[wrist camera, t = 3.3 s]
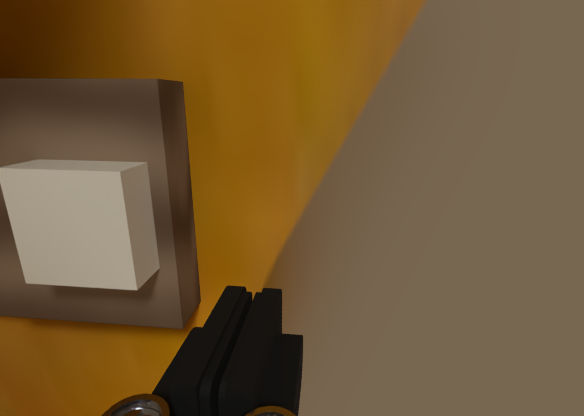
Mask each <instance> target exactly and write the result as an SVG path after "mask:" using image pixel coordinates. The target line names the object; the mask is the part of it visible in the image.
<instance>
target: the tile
mask: <svg viewBox="0 0 584 416" xmlns="http://www.w3.org/2000/svg"><path fill="white" fill-rule="evenodd" d="M0 184H1V188H2V192H3V196H4V200H5V204H6V208H7V212H8V215H9V219H10V223H11V227H12V231H13V235H14V239H15V243H16V247H17V251H18V254H19V258H20V262H21V266H22V270H23V274H24V278H25V282H26V283H28V284H44V285H60V286H76V287H91V288H107V289H123V290H138V289H139V288H140V287H141V286H142V285H143V284H144V283H145V282H146V281H147V280H148V279H149V278H150V277H151V276H152V275H153V274H154V273H155V272H156V271H157V270H158V269H159V268H160V266H159V258H158V250H157V241H156V233H155V225H154V216H153V208H152V200H151V192H150V183H149V175H148V167H147V162H117V161H81V160H44V159H37V160H32V161H28V162H23V163H18V164H13V165H8V166H3V167H0Z"/></svg>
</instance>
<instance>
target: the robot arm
mask: <svg viewBox="0 0 584 416" xmlns="http://www.w3.org/2000/svg"><path fill="white" fill-rule="evenodd" d="M302 359H303V335H293V334H282V290H281V289H272V288H263V290H262V293H261V292H256V294H255V296H254V299H253V301H252V292H246V287H241V286H227V287H226V288H225V290H224V291H223V293H222V295H221V297H220V298H219V300H218V302H217V303H216V305H215V307H214V309H213V310H212V312H211V314H210V316H209V317H208V319H207V321H206V322H205V324H204V326H203V328H202V327H195V328H193V329H192V330H191V331H190V333H189V335H188V336H187V338H186V339H185V341H184V343H183V344H182V346H181V347H180V349H179V351H178V352H177V354H176V356H175V357H174V359H173V360H172V362H171V364H170V365H169V367H168V368H167V370H166V372H165V373H164V375H163V376H162V378H161V380H160V381H159V383H158V384H157V386H156V388H155V389H154V391H153V392H152V394H139V395H133V396H131V397H128V398H125V399H123V400H121V401H119V402H118V403H116V404H114V405H113V406H111V407H110V408H109V409H108V410H107V411H106V412H105V413H103V415H102V416H298V410H299V400H300V389H301V378H302V361H303V360H302Z"/></svg>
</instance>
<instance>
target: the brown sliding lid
mask: <svg viewBox="0 0 584 416" xmlns="http://www.w3.org/2000/svg"><path fill="white" fill-rule="evenodd" d="M37 159H44V160H81V161H117V162H147V167H148V175H149V183H150V192H151V200H152V208H153V216H154V225H155V233H156V241H157V250H158V258H159V266H160V268H159V269H158V270H157V271H156V272H155V273H154V274H153V275H152V276H151V277H150V278H149V279H148V280H147V281H146V282H145V283H144V284H143V285H142V286H141V287H140V288H139V289H138V290H123V289H107V288H91V287H76V286H60V285H44V284H28V283H26V282H25V278H24V274H23V270H22V266H21V262H20V258H19V254H18V251H17V247H16V243H15V239H14V235H13V231H12V227H11V223H10V219H9V215H8V212H7V208H6V204H5V200H4V196H3V192H2V188H1V184H0V316H12V317H26V318H39V319H53V320H67V321H80V322H94V323H108V324H121V325H135V326H148V327H162V328H176V329H183V328H184V327H185V325H186V323H187V322H188V320H189V319H190V317H191V316H192V314H193V312H194V311H195V309H196V308H197V306H198V304H199V303H200V301H201V299H200V287H199V275H198V263H197V251H196V238H195V226H194V214H193V202H192V190H191V178H190V166H189V154H188V141H187V129H186V117H185V105H184V93H183V82H178V81H170V80H162V79H60V78H0V167H3V166H8V165H13V164H18V163H23V162H28V161H32V160H37Z"/></svg>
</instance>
